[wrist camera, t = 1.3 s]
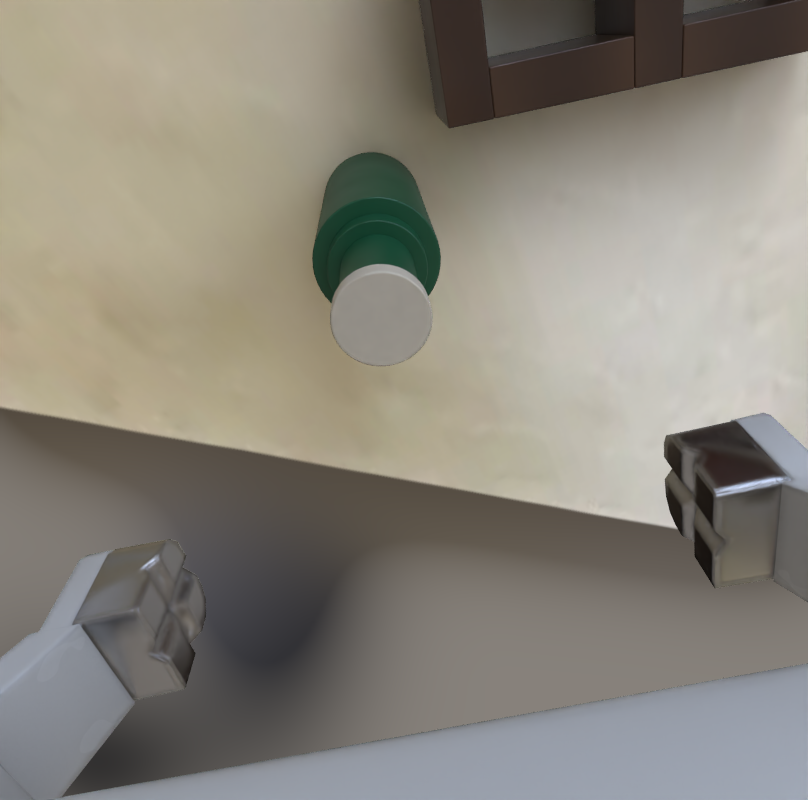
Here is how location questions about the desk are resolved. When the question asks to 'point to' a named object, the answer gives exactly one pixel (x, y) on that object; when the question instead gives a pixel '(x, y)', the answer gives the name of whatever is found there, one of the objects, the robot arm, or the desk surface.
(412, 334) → the bottle
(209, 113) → the desk surface
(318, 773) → the robot arm
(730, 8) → the hole block
